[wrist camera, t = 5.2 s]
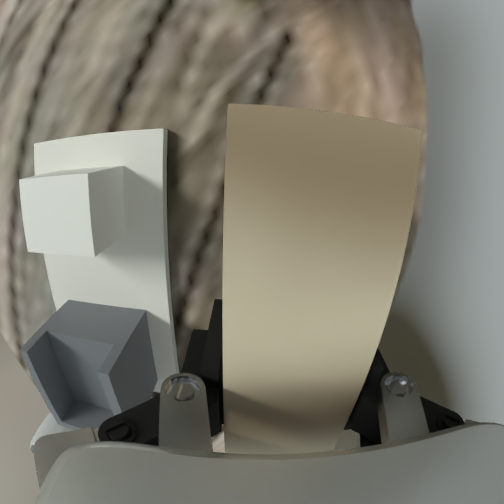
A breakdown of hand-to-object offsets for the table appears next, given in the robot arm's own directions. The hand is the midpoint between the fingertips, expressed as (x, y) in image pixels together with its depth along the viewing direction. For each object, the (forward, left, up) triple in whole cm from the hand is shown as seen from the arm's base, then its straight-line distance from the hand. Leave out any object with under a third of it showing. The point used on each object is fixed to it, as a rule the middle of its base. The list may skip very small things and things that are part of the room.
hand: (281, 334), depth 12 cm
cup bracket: (+3, -14, -11) cm, 18 cm away
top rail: (0, 0, -1) cm, 1 cm away
